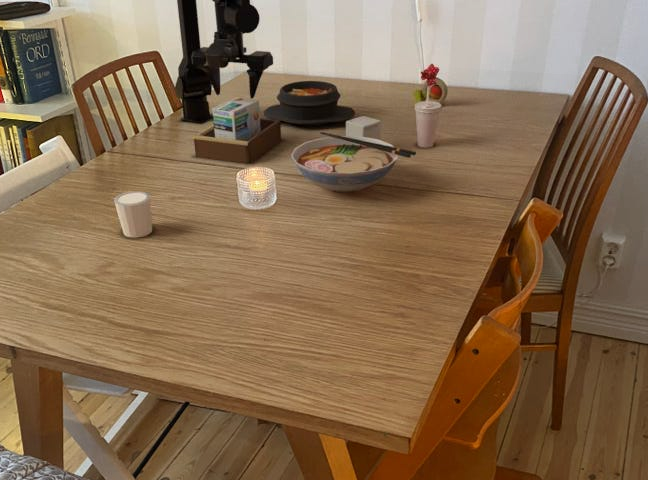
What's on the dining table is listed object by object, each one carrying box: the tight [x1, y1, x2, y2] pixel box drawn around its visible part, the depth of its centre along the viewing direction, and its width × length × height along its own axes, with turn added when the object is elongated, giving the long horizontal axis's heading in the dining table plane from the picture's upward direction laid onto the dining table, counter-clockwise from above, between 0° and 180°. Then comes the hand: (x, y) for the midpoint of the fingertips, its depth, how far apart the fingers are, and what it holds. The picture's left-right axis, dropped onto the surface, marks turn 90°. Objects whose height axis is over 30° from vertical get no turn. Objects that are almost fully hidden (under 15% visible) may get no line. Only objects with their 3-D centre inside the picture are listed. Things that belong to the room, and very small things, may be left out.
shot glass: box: [113, 191, 153, 239], centre depth 143 cm, size 7×7×7 cm
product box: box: [345, 115, 382, 140], centre depth 176 cm, size 6×6×7 cm
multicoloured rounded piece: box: [412, 63, 449, 105], centre depth 203 cm, size 6×11×9 cm
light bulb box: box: [211, 96, 261, 141], centre depth 179 cm, size 11×7×11 cm, turn 148°
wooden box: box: [192, 117, 282, 165], centre depth 181 cm, size 15×18×5 cm
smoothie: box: [413, 85, 442, 149], centre depth 176 cm, size 6×6×14 cm
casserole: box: [262, 80, 356, 127], centre depth 196 cm, size 25×19×8 cm
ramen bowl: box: [290, 131, 417, 193], centre depth 158 cm, size 25×23×8 cm
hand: (235, 96), depth 175 cm, fingers open, 9 cm apart
